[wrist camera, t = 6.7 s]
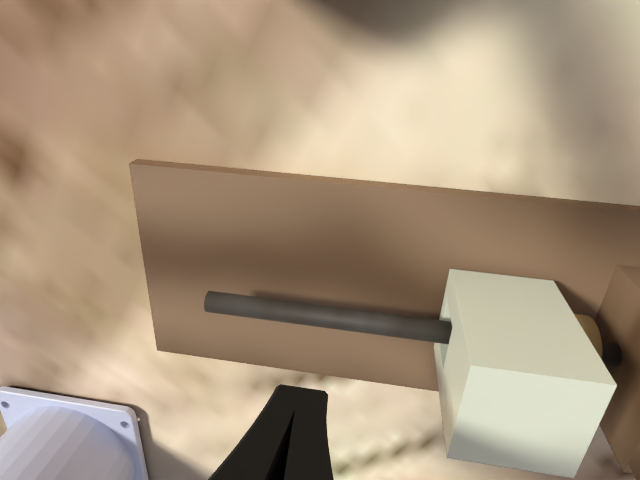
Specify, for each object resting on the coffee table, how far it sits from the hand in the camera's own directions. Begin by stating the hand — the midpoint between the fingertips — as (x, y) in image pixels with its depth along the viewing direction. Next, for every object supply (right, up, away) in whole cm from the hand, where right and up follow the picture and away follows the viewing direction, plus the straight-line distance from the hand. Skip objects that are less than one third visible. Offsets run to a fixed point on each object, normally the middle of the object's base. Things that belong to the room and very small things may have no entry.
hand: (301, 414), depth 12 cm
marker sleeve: (+7, +2, +5) cm, 9 cm away
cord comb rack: (+3, +3, +6) cm, 7 cm away
